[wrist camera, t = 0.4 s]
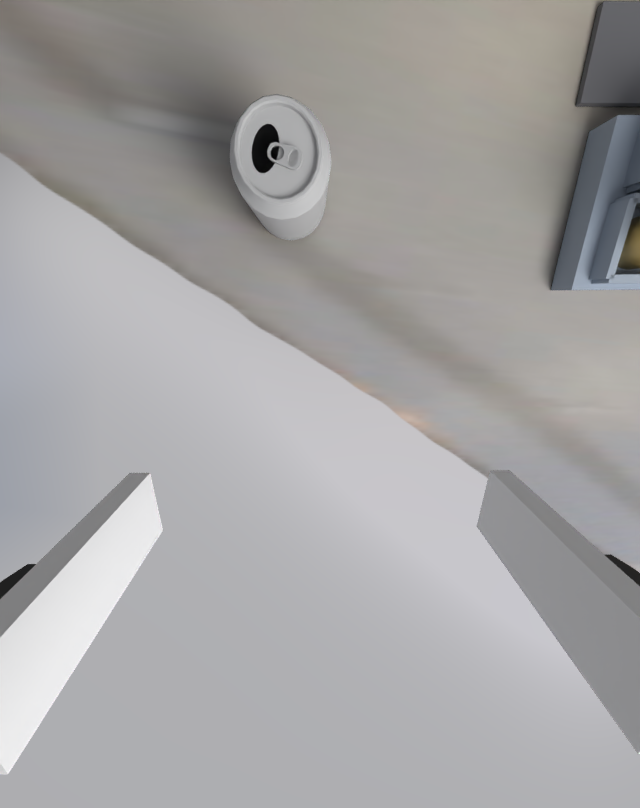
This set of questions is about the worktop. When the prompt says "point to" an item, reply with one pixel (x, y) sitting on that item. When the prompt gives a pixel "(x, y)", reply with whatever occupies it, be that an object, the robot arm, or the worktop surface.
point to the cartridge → (631, 247)
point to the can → (282, 165)
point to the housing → (603, 210)
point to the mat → (613, 58)
